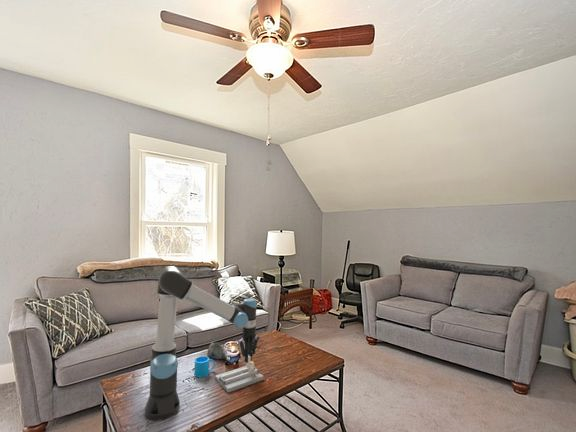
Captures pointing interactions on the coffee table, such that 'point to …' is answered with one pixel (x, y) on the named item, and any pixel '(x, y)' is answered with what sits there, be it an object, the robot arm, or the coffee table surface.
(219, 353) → the mineral rock
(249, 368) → the fader tab
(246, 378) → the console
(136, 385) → the coffee table surface
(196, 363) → the mug
